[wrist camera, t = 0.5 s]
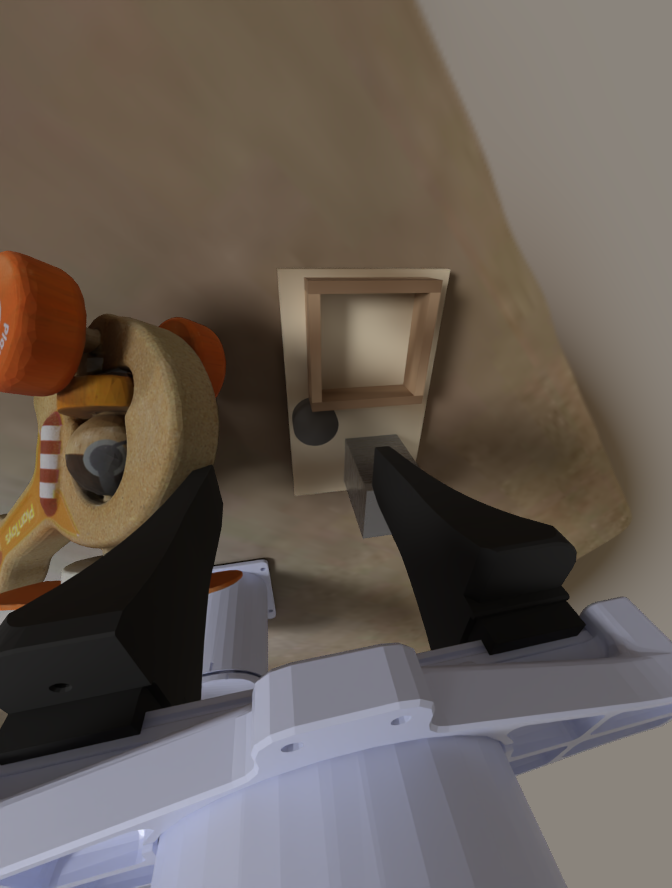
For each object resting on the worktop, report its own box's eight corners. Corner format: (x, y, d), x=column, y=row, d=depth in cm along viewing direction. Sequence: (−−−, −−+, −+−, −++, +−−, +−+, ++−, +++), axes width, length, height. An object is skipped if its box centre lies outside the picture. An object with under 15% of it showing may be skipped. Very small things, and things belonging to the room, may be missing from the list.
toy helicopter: (219, 295, 17) (337, 527, 14) (62, 480, 25) (111, 654, 22) (10, 184, 10) (149, 621, 6) (-115, 493, 18) (-84, 757, 15)
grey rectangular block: (391, 475, 26) (420, 530, 21) (343, 480, 25) (362, 538, 20) (396, 434, 24) (430, 483, 19) (345, 438, 23) (366, 491, 18)
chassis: (407, 475, 28) (421, 498, 25) (294, 488, 26) (297, 513, 24) (442, 268, 19) (468, 271, 17) (276, 268, 18) (278, 271, 15)
